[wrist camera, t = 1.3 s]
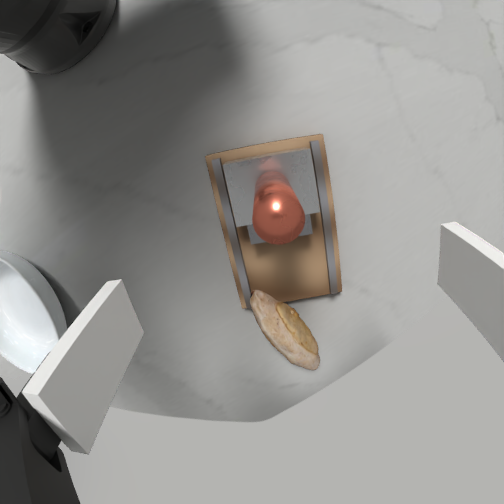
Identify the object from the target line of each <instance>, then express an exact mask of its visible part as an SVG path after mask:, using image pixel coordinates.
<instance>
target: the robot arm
mask: <svg viewBox="0 0 504 504" xmlns="http://www.w3.org/2000/svg"><path fill="white" fill-rule="evenodd" d="M115 6H116V0H0V53H1V54H4V55H6V56H7V57H8V58H10V59H12V60H13V61H16V63H17V64H18V65H19V66H20V67H22V68H23V69H25V70H27V71H29V72H33V73H40V74H54V73H58V72H61V71H63V70H66V69H68V68H70V67H71V66H73V65H75V64H76V63H77V62H79V61H80V60H81V59H83V58H84V57H85V56H86V55H87V54H88V53H89V52H90V51H91V50H92V49H93V48H94V47H95V45H96V44H97V43H98V42H99V40H100V39H101V38H102V36H103V35H104V33H105V31H106V30H107V28H108V26H109V24H110V22H111V19H112V17H113V14H114V10H115ZM437 284H438V285H439V286H440V287H441V288H442V289H443V291H444V292H445V293H446V294H447V295H448V296H449V297H450V298H451V299H452V300H453V301H454V303H456V305H457V306H458V307H459V308H460V309H461V310H462V312H463V313H464V314H465V315H466V316H467V317H468V318H469V320H470V321H471V322H472V323H473V324H474V326H475V327H476V328H477V329H478V330H479V331H480V333H481V334H482V335H483V336H484V338H485V339H486V340H487V341H488V342H489V344H490V345H491V346H492V347H493V349H494V350H495V351H496V352H497V354H498V355H499V356H500V358H501V359H502V360H503V362H504V254H503V253H502V252H501V251H500V250H498V249H497V248H495V247H494V246H492V245H491V244H489V243H488V242H486V241H485V240H483V239H482V238H480V237H479V236H477V235H476V234H474V233H473V232H471V231H469V230H468V229H466V228H465V227H463V226H461V225H460V224H458V223H457V222H451V223H445V224H441V237H440V257H439V271H438V283H437ZM143 335H144V331H143V329H142V327H141V324H140V322H139V320H138V317H137V315H136V313H135V310H134V308H133V306H132V303H131V301H130V298H129V296H128V293H127V291H126V288H125V286H124V283H123V281H122V279H120V280H114V281H107V282H106V283H105V285H104V286H103V287H102V288H101V289H100V290H99V292H98V293H97V294H96V295H95V296H94V298H93V299H92V300H91V301H90V302H89V304H88V305H87V306H86V307H85V308H84V310H83V311H82V312H81V313H80V315H79V316H78V317H77V318H76V319H75V321H74V322H73V323H72V324H71V326H70V327H69V328H68V330H67V331H66V332H65V333H64V335H63V336H62V337H61V338H60V340H59V341H58V342H57V344H56V345H55V346H54V348H53V349H52V350H51V351H50V352H49V353H48V354H47V356H46V357H45V358H44V360H43V361H42V362H41V363H42V364H41V365H39V367H38V368H37V369H36V372H34V373H33V375H32V376H31V378H30V379H29V381H28V382H27V383H26V385H25V386H24V388H23V389H22V391H21V392H20V393H19V395H18V397H17V398H16V397H15V396H14V395H13V393H12V392H11V390H10V389H9V388H8V386H7V385H6V384H5V382H4V381H3V379H2V378H1V377H0V504H80V501H79V499H78V496H77V494H76V491H75V488H74V485H73V482H72V479H71V476H70V473H69V470H68V467H67V464H66V460H65V457H64V454H63V452H62V450H61V449H60V448H59V447H58V445H59V444H60V442H61V440H62V441H63V443H64V444H65V445H66V446H67V447H68V448H69V449H70V450H71V451H74V452H79V453H84V454H89V453H90V451H91V448H92V446H93V444H94V441H95V438H96V437H97V434H98V432H99V429H100V427H101V425H102V422H103V420H104V418H105V416H106V413H107V411H108V409H109V407H110V404H111V402H112V400H113V398H114V396H115V393H116V391H117V389H118V387H119V385H120V383H121V380H122V378H123V376H124V374H125V372H126V370H127V368H128V366H129V363H130V361H131V359H132V357H133V355H134V353H135V351H136V349H137V347H138V345H139V343H140V341H141V339H142V337H143Z"/></svg>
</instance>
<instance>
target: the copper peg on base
mask: <svg viewBox="0 0 504 504" xmlns="http://www.w3.org/2000/svg"><path fill="white" fill-rule="evenodd" d="M223 169H224V174H225V178H226V183H227V187H228V192H229V196H230V200H231V205H232V209H233V214H234V218H235V222H236V227H240V226H245V225H247V228H248V232H249V237H250V241H251V245H252V244H258V243H263V242H268V243H271V244H276V245H281V244H286V243H289V242H291V241H293V240H294V239H296V238H297V237H298V236H303V235H309V234H313V232H312V225H311V218H310V214H312V213H318V212H320V207H319V200H318V193H317V187H316V180H315V174H314V168H313V162H312V156H311V150H310V149H309V148H307V147H303V148H297V149H291V150H285V151H279V152H273V153H268V154H262V155H257V156H252V157H247V158H242V159H237V160H232V161H227V162H225V163H224V164H223Z"/></svg>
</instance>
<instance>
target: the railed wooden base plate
mask: <svg viewBox="0 0 504 504" xmlns="http://www.w3.org/2000/svg"><path fill="white" fill-rule="evenodd" d="M303 147H307V148H309V149H310V150H311V156H312V162H313V168H314V174H315V180H316V187H317V193H318V200H319V207H320V212H318V213H312V214H310V218H311V225H312V232H313V234H309V235H303V236H298V237H297V238H296V239H294V240H293V241H291V242H289V243H286V244H281V245H276V244H271V243H268V242H263V243H258V244H252V245H251V241H250V237H249V232H248V228H247V225H245V226H240V227H236V222H235V218H234V214H233V209H232V205H231V200H230V196H229V192H228V187H227V183H226V178H225V174H224V169H223V164H224V163H225V162H227V161H232V160H237V159H242V158H247V157H252V156H257V155H262V154H268V153H273V152H279V151H285V150H291V149H297V148H303ZM205 158H206V163H207V167H208V171H209V176H210V180H211V184H212V188H213V193H214V197H215V201H216V205H217V209H218V213H219V218H220V222H221V226H222V230H223V234H224V238H225V242H226V246H227V250H228V254H229V258H230V262H231V266H232V270H233V274H234V278H235V282H236V286H237V290H238V294H239V298H240V302H241V306H242V309H243V308H247V309H249V308H252V307H251V304H250V296H251V292H252V291H253V290H260V291H263V292H265V293H267V294H268V295H270V296H272V297H273V298H274V299H275V300H277V301H279V302H287V301H293V300H298V299H304V298H310V297H315V296H321V295H326V294H336V293H338V292H342V284H341V271H340V260H339V249H338V239H337V230H336V221H335V213H334V205H333V197H332V190H331V183H330V176H329V169H328V162H327V156H326V150H325V144H324V138H323V134H318V135H311V136H304V137H297V138H291V139H285V140H279V141H273V142H268V143H262V144H257V145H252V146H247V147H242V148H237V149H232V150H228V151H223V152H218V153H214V154H210V155H206V156H205Z"/></svg>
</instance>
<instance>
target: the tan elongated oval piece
mask: <svg viewBox="0 0 504 504" xmlns="http://www.w3.org/2000/svg"><path fill="white" fill-rule="evenodd" d="M250 304H251V307H252V310H253V312H254V316H255V318H256V321H257V323H258V325H259V326H260V328H261V330H262V332H263V334H264V335H265V336H266V338H267V339H268V340H269V341H270V342H271V344H272V345H273V346H274V347H275V348H276V349H277V350H278V351H279V352H281V354H283V355H284V356H285V357H286V358H287V359H288V360H289V361H290V362H291V363H292V364H296V365H298V366H301V367H303V368H305V369H309V370H316V369H317V368H318V366H319V363H320V357H319V355H318V345H317V342H316V340H315V338H314V337H313V336H312V334H311V331H310V329H309V328H308V327H307V326H306V325H305V323H304V322H303V320H302V319H301V318H300V317H299V314H298V313H297V312H296V310H295V309H294V308H291V307H289V306H288V305H287V304H286V303H284V302H279V301H277V300H275V299H274V298H273V297H272V296H270V295H268V294H267V293H265V292H263V291H260V290H253V291H252V292H251V296H250Z"/></svg>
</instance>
